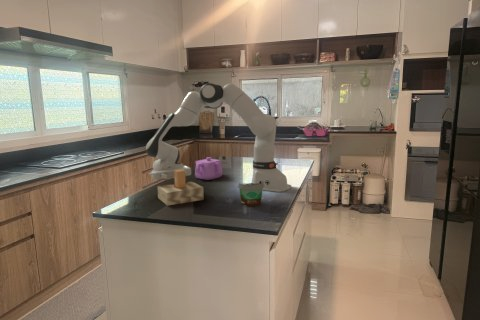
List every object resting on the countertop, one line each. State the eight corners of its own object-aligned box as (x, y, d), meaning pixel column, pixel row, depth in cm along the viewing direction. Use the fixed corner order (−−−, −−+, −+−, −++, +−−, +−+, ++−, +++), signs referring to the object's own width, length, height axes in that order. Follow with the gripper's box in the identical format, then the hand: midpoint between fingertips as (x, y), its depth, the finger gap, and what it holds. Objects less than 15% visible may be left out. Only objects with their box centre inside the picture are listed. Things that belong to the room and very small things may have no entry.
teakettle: (195, 180, 199) (195, 160, 197) (194, 174, 216) (194, 155, 213) (224, 179, 202) (223, 159, 200) (221, 173, 218) (221, 154, 216)
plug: (183, 197, 165) (182, 169, 163) (186, 199, 162) (185, 170, 159) (175, 198, 163) (174, 170, 161) (178, 200, 160) (177, 171, 157)
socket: (192, 192, 173) (192, 181, 172) (203, 199, 161) (203, 187, 160) (158, 197, 164) (157, 186, 163) (167, 205, 152) (166, 192, 151)
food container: (241, 208, 148) (241, 186, 146) (237, 204, 154) (237, 182, 152) (267, 205, 151) (268, 184, 150) (263, 201, 157) (263, 181, 155)
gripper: (147, 167, 171) (155, 172, 159) (185, 163, 181) (195, 167, 170) (148, 179, 172) (155, 184, 161) (185, 174, 182) (195, 179, 171)
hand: (176, 175), depth 165 cm, fingers open, 8 cm apart
